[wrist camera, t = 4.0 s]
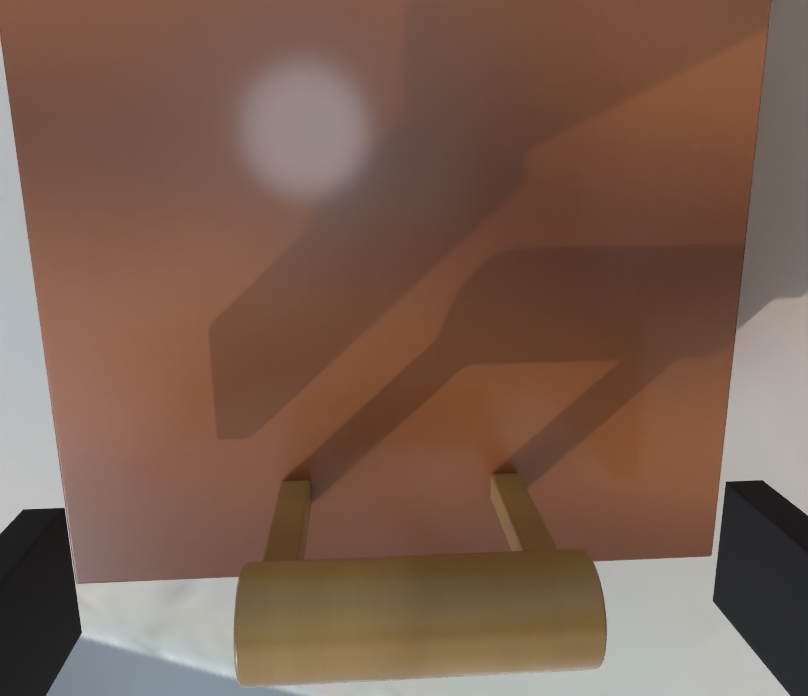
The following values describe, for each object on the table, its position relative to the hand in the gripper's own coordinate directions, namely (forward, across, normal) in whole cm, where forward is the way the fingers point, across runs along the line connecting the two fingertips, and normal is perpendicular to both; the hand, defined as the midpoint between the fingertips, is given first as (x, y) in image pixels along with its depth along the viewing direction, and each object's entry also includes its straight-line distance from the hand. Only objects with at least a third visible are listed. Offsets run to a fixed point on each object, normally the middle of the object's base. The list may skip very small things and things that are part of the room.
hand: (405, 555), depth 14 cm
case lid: (+4, 0, -7) cm, 8 cm away
